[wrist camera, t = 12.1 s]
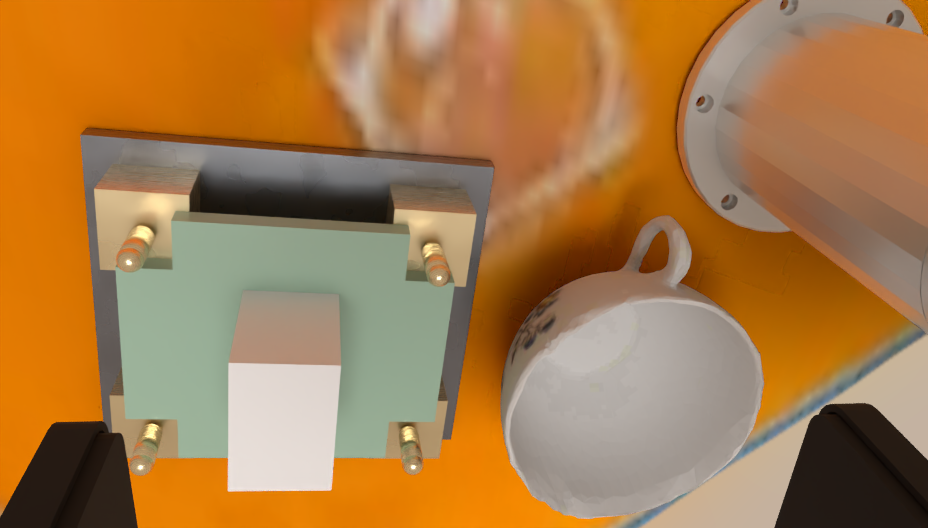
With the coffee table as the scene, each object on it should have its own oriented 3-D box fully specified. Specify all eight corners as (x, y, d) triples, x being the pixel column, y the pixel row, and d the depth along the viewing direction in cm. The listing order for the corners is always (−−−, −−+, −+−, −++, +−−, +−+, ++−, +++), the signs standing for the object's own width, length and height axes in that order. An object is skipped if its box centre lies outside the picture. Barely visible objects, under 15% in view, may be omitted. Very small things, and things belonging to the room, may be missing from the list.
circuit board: (457, 228, 34) (484, 300, 28) (427, 444, 39) (444, 542, 33) (118, 207, 31) (70, 282, 25) (133, 443, 36) (96, 550, 30)
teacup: (650, 430, 46) (709, 530, 39) (451, 411, 43) (475, 515, 36) (746, 201, 40) (835, 271, 33) (521, 160, 37) (566, 227, 30)
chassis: (490, 160, 37) (523, 218, 31) (448, 428, 44) (468, 518, 38) (86, 127, 33) (32, 185, 27) (109, 424, 40) (70, 524, 34)
